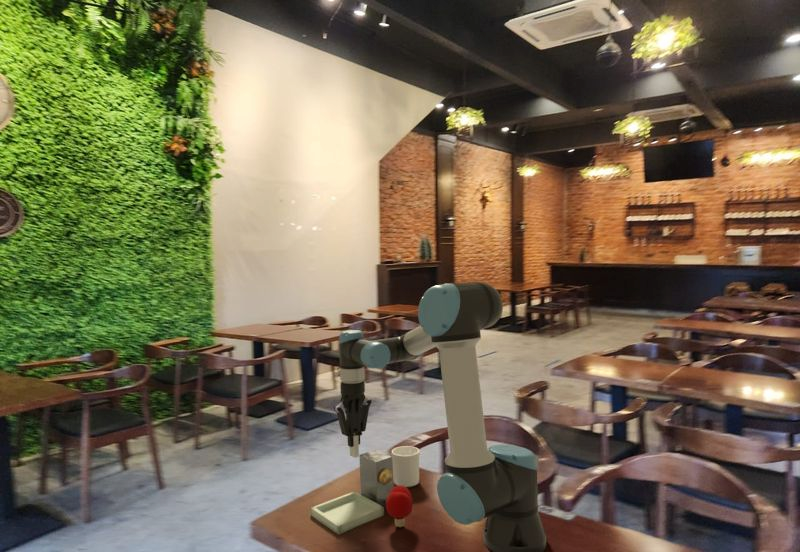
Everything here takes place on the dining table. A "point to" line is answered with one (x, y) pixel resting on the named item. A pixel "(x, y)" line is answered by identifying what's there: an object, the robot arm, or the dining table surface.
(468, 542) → the dining table surface
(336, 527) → the tray
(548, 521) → the dining table surface
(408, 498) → the red rounded piece
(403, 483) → the mug
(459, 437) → the robot arm
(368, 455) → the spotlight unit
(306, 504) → the dining table surface
